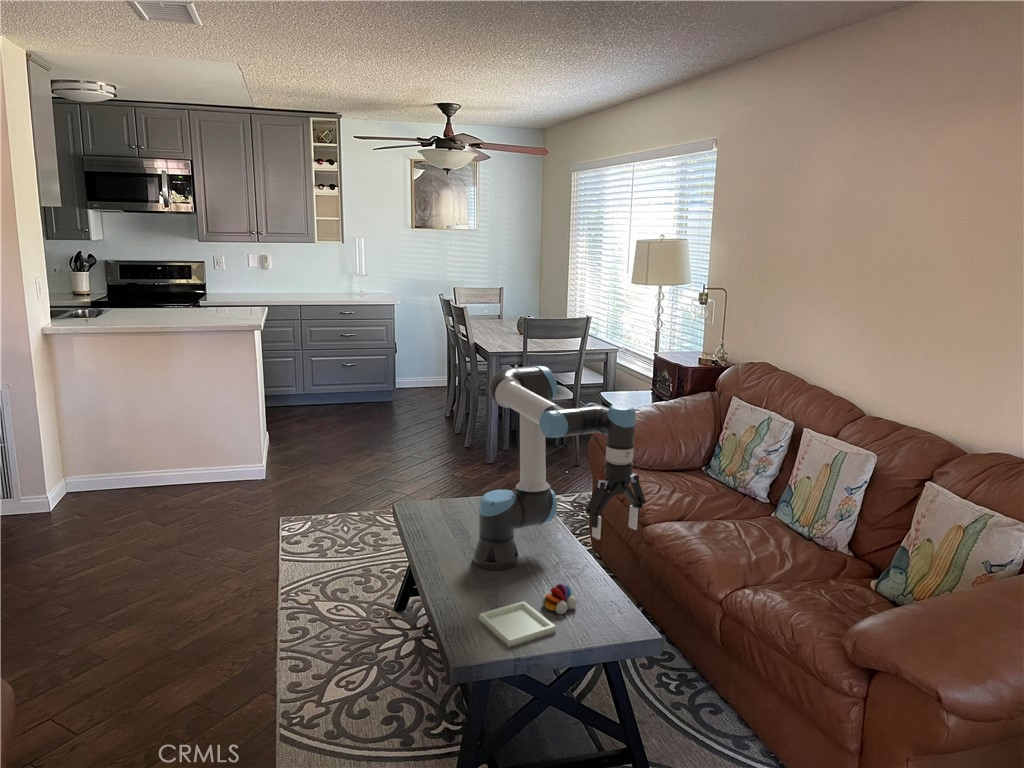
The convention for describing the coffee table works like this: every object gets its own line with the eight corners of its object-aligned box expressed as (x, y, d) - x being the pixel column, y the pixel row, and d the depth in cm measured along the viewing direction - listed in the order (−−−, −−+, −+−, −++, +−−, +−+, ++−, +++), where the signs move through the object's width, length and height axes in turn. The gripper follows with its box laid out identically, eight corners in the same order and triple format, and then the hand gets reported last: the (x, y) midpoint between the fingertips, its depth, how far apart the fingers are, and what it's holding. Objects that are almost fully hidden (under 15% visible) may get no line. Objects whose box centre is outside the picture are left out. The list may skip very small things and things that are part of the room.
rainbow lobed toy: (537, 607, 213) (537, 585, 211) (559, 597, 219) (560, 575, 218) (558, 618, 207) (559, 595, 205) (580, 607, 213) (581, 584, 212)
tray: (479, 620, 204) (479, 613, 204) (523, 607, 212) (524, 601, 212) (509, 647, 191) (509, 640, 191) (555, 632, 199) (555, 625, 199)
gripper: (592, 471, 191) (588, 546, 195) (661, 458, 205) (656, 528, 209) (575, 463, 197) (571, 536, 201) (642, 451, 211) (638, 520, 215)
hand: (614, 532), depth 205 cm, fingers open, 13 cm apart
